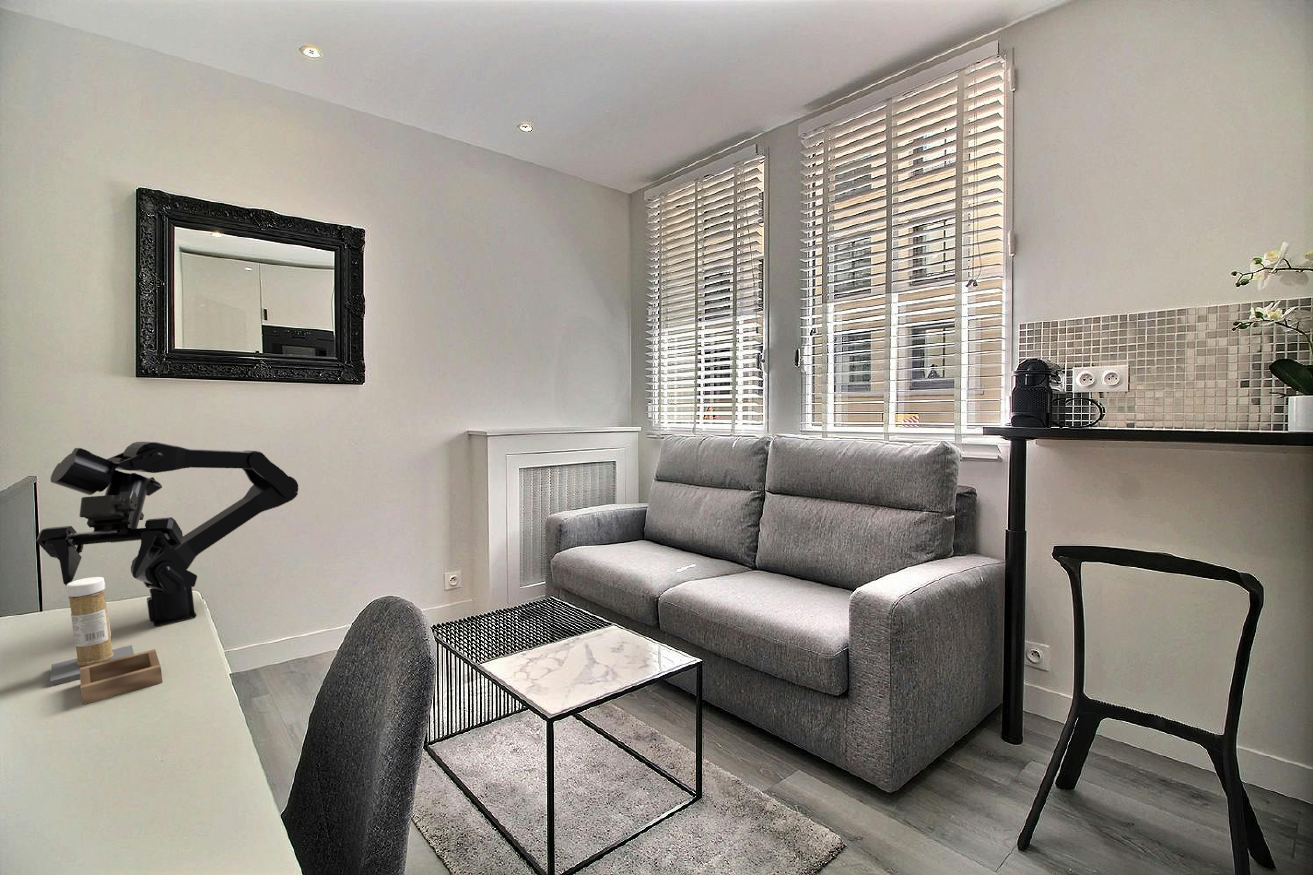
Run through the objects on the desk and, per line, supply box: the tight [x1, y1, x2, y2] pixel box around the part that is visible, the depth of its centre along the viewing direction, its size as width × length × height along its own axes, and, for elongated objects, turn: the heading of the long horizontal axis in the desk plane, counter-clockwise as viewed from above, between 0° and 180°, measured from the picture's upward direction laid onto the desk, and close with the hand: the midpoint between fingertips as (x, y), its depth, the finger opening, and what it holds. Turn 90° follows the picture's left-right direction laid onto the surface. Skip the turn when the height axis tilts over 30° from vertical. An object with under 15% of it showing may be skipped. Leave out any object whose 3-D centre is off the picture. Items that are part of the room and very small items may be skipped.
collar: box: [79, 648, 164, 705], centre depth 96 cm, size 9×9×2 cm
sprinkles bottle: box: [65, 576, 114, 666], centre depth 102 cm, size 5×5×13 cm
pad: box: [49, 644, 135, 687], centre depth 102 cm, size 10×8×1 cm
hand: (101, 580), depth 105 cm, fingers open, 9 cm apart
